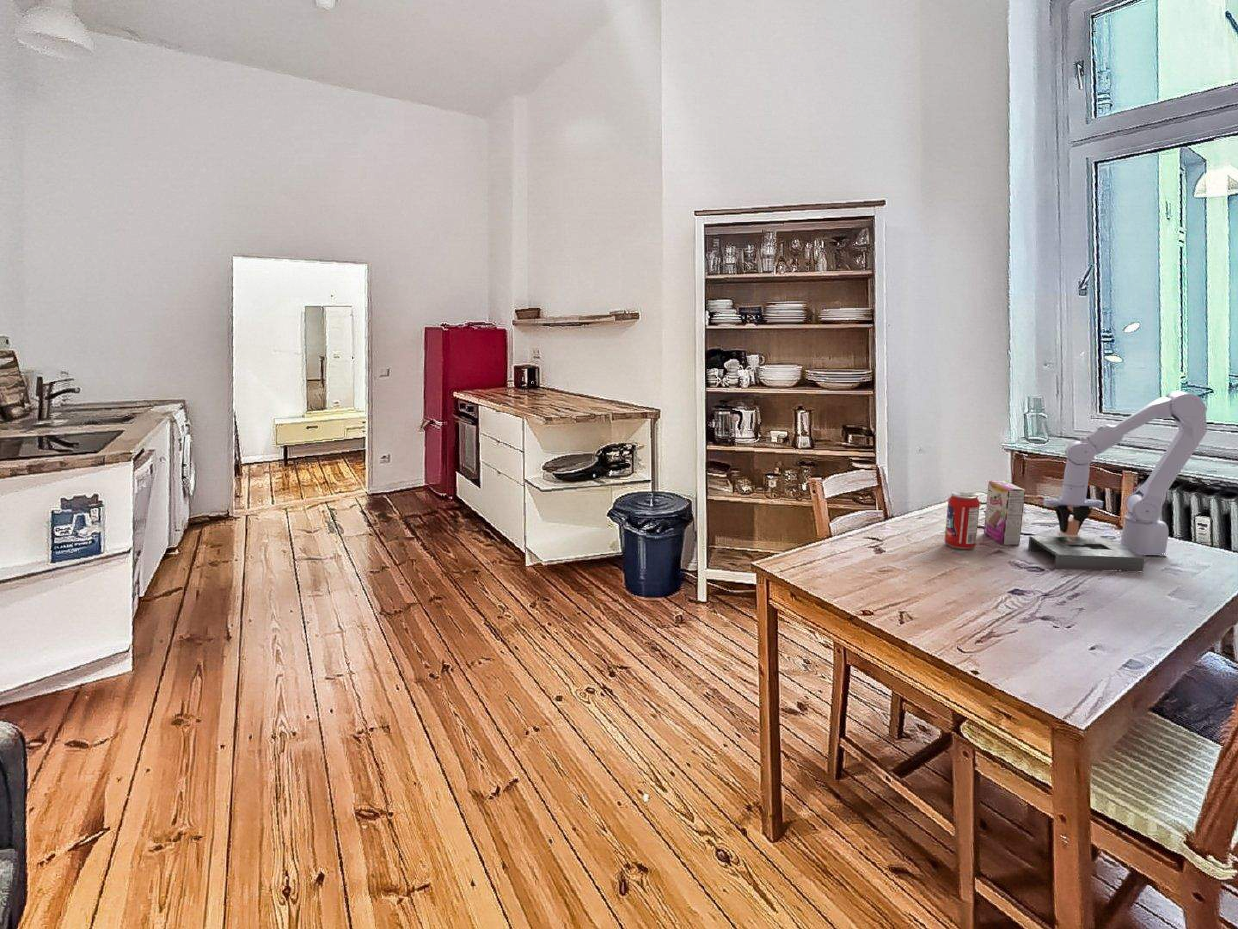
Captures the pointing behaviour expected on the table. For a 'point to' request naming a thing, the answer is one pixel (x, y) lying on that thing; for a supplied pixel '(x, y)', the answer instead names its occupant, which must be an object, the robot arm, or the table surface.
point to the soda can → (962, 520)
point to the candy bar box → (1004, 512)
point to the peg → (1070, 529)
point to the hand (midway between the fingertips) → (1069, 531)
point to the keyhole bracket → (1088, 553)
